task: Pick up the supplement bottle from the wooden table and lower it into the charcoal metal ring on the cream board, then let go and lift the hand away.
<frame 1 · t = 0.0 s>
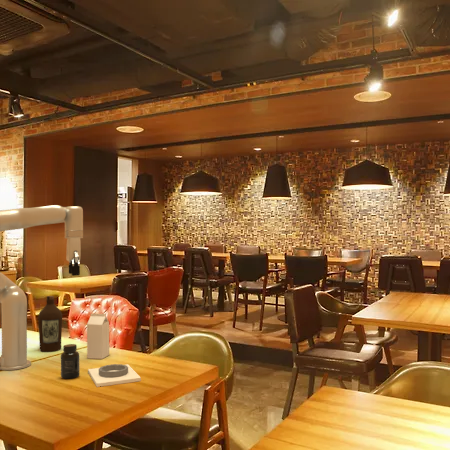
hand: (74, 274, 213), 37 cm above the table, tool pointing down, fingers open, 9 cm apart
olive oil: (50, 350, 231), on the table
supplement bottle: (70, 377, 188), on the table
dock: (113, 376, 188), on the table
milk carton: (98, 357, 217), on the table
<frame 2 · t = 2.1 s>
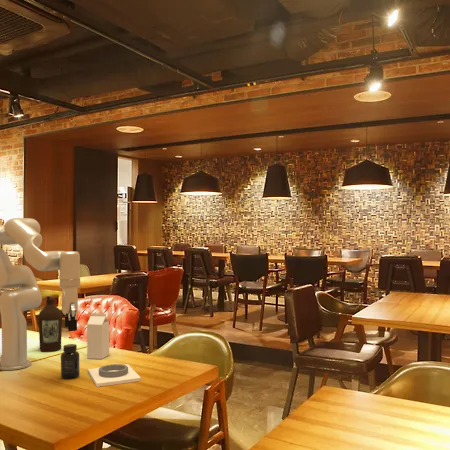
hand: (70, 328, 188), 18 cm above the table, tool pointing down, fingers open, 9 cm apart
nothing on the table moved.
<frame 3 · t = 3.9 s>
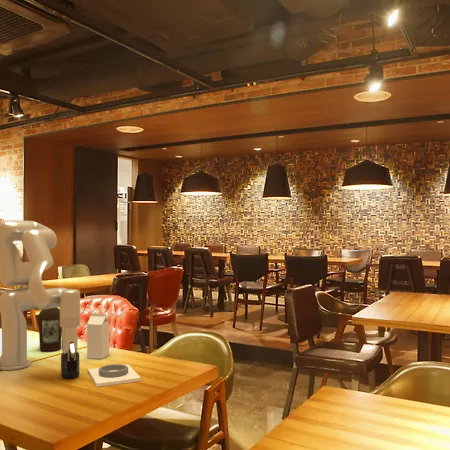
hand: (70, 368, 188), 3 cm above the table, tool pointing down, fingers closed on supplement bottle, 6 cm apart
supplement bottle: (70, 377, 188), on the table, touching gripper
everything else where it was.
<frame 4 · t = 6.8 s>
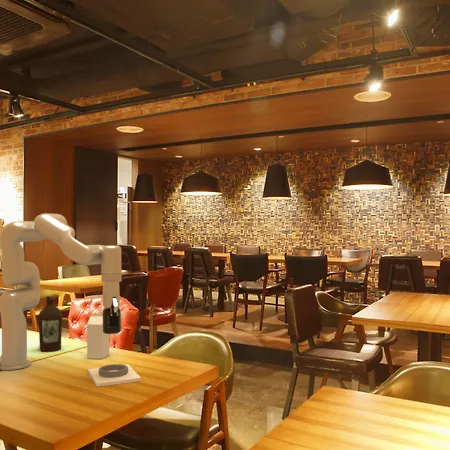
hand: (111, 324, 188), 20 cm above the table, tool pointing down, fingers closed on supplement bottle, 6 cm apart
supplement bottle: (111, 333, 188), point 17 cm above the table, touching gripper
everything else where it was.
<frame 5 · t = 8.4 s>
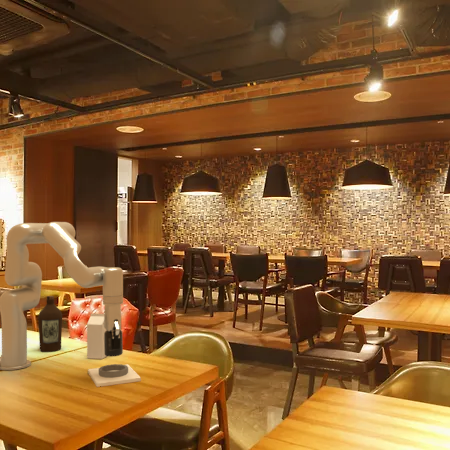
hand: (113, 346, 188), 11 cm above the table, tool pointing down, fingers closed on supplement bottle, 6 cm apart
supplement bottle: (113, 355, 188), point 8 cm above the table, touching gripper
everything else where it was.
when the fingers open (7 cm above the table, at t = 9.8 s): supplement bottle drops 2 cm, resting on dock.
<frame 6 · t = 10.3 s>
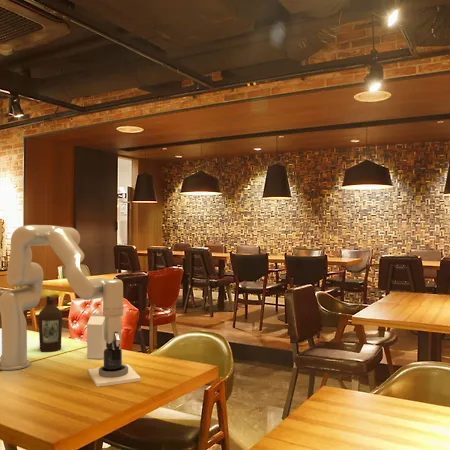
hand: (113, 356, 188), 7 cm above the table, tool pointing down, fingers open, 9 cm apart
supplement bottle: (112, 373, 188), point 1 cm above the table, touching dock
everything else where it was.
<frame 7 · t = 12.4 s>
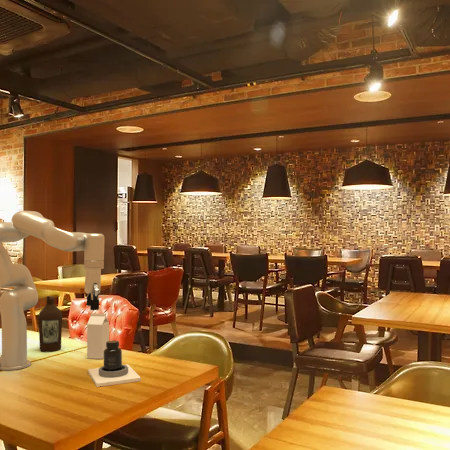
hand: (92, 307, 195), 25 cm above the table, tool pointing down, fingers open, 9 cm apart
nothing on the table moved.
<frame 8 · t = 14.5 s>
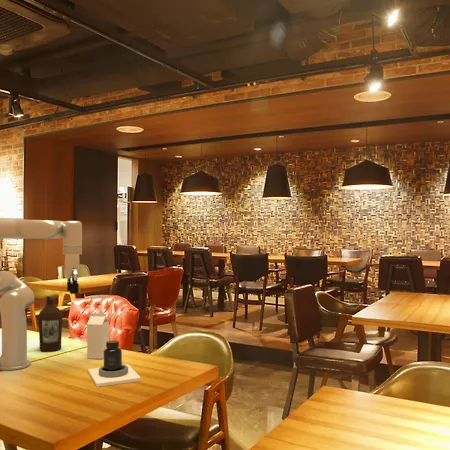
hand: (72, 292, 203), 30 cm above the table, tool pointing down, fingers open, 9 cm apart
nothing on the table moved.
at the end: supplement bottle 0.5 cm off-centre on the dock, point 1.0 cm above the dock's base; supplement bottle tilted 0°; the gripper is holding nothing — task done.
